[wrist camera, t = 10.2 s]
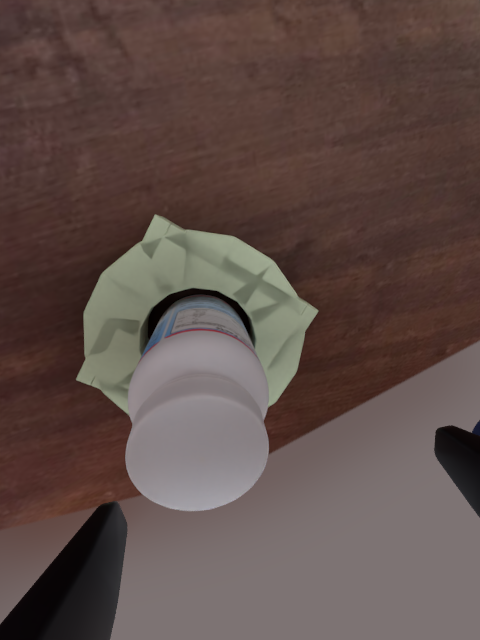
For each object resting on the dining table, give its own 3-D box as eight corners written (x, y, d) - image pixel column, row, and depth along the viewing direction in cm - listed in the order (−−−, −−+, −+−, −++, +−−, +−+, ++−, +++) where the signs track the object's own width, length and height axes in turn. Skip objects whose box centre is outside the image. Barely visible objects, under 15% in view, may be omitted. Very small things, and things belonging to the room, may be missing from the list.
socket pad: (327, 295, 20) (344, 303, 17) (233, 434, 22) (237, 458, 20) (152, 187, 16) (143, 180, 14) (68, 367, 19) (49, 387, 17)
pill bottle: (194, 387, 21) (181, 554, 10) (139, 325, 19) (51, 451, 8) (261, 342, 20) (323, 468, 9) (212, 274, 18) (221, 336, 8)
